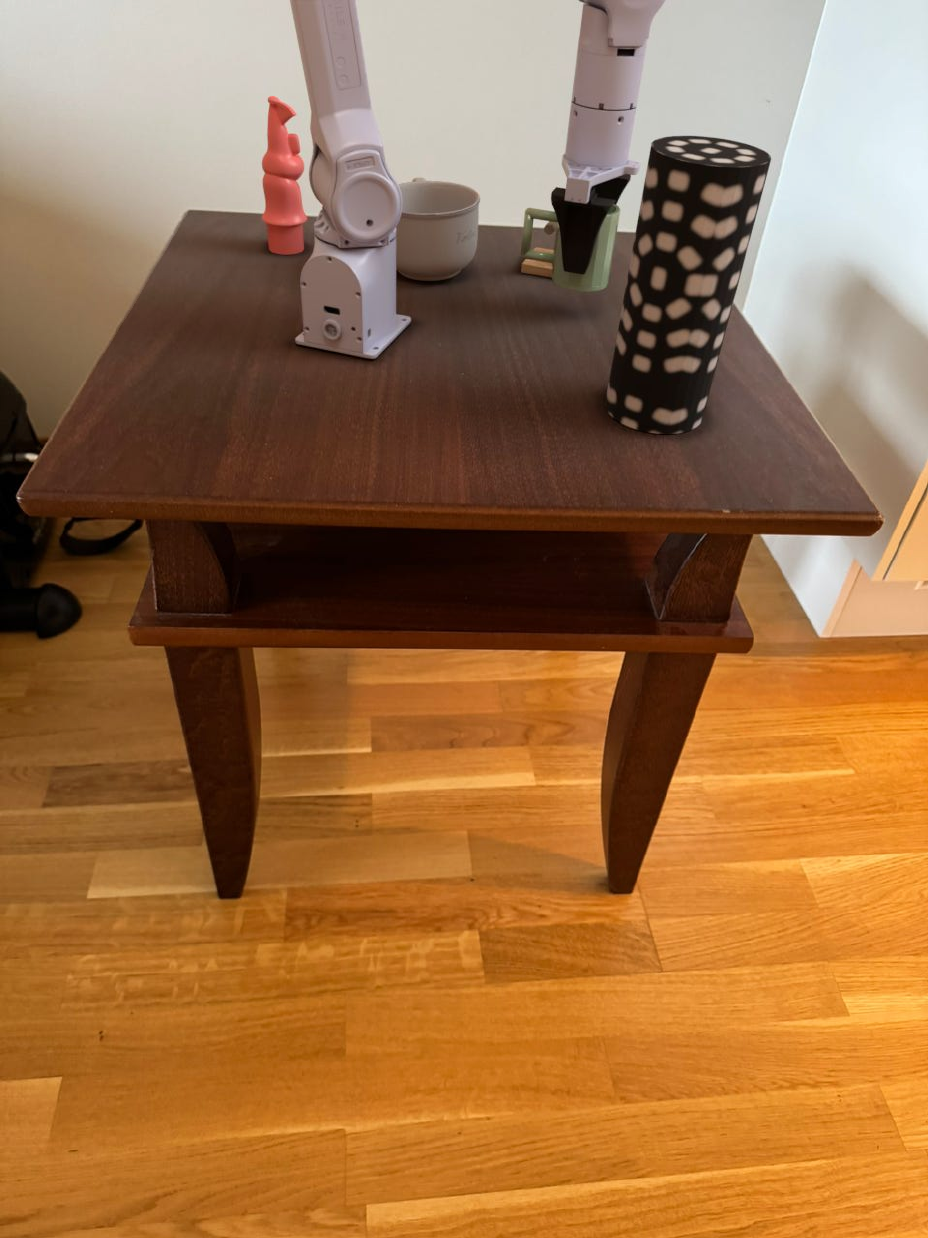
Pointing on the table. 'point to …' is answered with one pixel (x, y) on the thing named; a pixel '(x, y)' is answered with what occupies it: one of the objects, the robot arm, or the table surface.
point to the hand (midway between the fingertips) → (581, 261)
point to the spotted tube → (683, 279)
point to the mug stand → (539, 266)
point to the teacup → (436, 229)
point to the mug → (598, 265)
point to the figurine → (282, 183)
